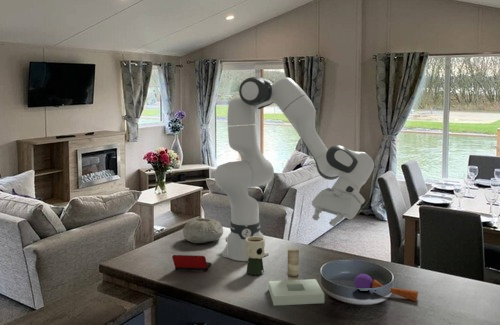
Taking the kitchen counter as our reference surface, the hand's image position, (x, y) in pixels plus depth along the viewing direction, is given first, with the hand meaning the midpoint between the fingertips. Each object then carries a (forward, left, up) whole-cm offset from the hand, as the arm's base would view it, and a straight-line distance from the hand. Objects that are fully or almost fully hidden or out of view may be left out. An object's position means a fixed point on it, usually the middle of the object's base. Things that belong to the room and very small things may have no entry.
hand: (322, 222), depth 167 cm
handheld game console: (-13, -47, -21) cm, 52 cm away
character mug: (-6, -23, -20) cm, 32 cm away
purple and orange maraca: (+17, +17, -21) cm, 32 cm away
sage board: (+15, -12, -20) cm, 28 cm away
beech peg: (+5, -11, -20) cm, 24 cm away
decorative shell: (-46, -42, -21) cm, 66 cm away
